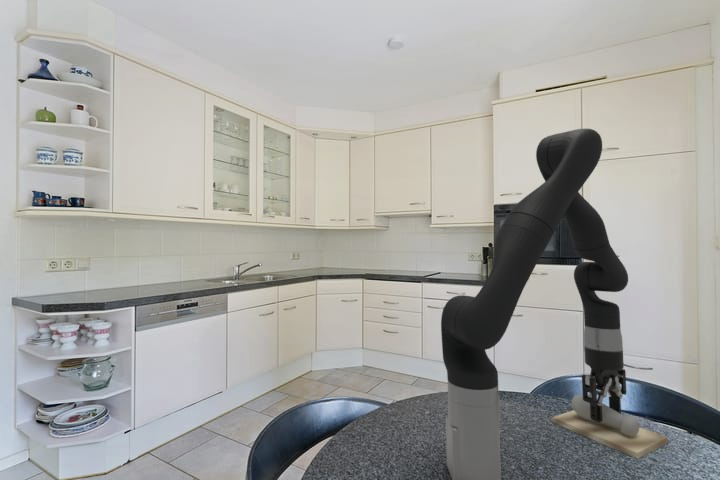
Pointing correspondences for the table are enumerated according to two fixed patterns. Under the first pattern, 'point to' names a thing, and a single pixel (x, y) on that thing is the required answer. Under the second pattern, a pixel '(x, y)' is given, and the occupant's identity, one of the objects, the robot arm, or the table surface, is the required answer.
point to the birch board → (612, 435)
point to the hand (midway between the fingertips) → (606, 417)
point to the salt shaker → (607, 417)
